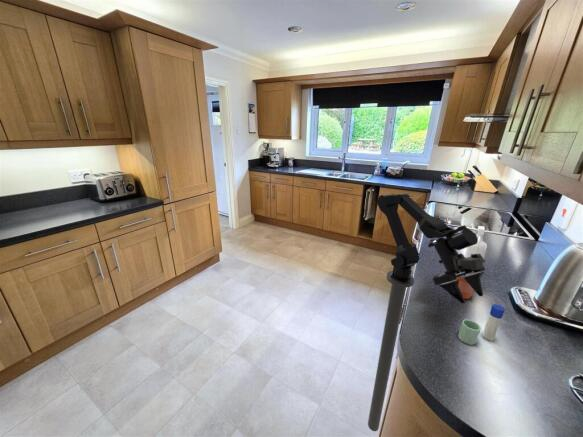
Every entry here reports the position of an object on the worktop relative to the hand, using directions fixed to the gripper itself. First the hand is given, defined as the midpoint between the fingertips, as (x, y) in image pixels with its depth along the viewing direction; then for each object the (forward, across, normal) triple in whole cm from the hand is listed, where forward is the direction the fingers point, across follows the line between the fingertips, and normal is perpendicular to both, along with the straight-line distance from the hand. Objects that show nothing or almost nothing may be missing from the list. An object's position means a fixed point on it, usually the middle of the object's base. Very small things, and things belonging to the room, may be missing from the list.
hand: (472, 299), depth 79 cm
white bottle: (-4, +24, +17) cm, 30 cm away
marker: (+12, 0, +2) cm, 12 cm away
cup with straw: (-1, +14, +14) cm, 20 cm away
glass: (+10, -7, +3) cm, 13 cm away
